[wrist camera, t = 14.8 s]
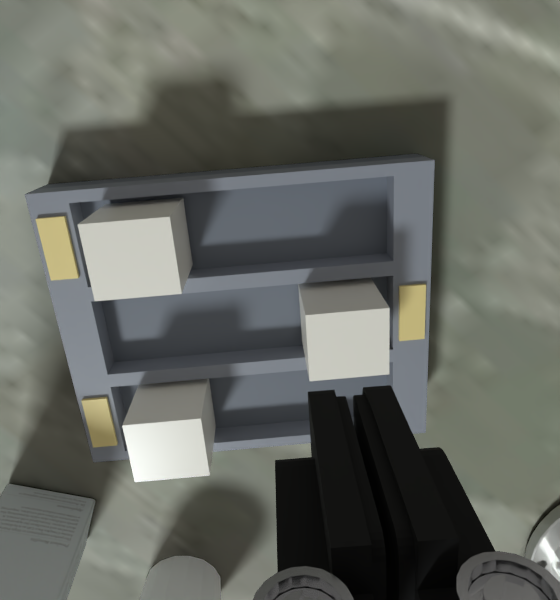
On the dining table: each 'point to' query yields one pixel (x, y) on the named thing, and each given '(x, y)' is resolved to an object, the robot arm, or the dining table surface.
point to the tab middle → (344, 329)
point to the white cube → (137, 249)
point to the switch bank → (245, 291)
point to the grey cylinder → (182, 580)
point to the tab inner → (170, 430)
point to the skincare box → (41, 542)
